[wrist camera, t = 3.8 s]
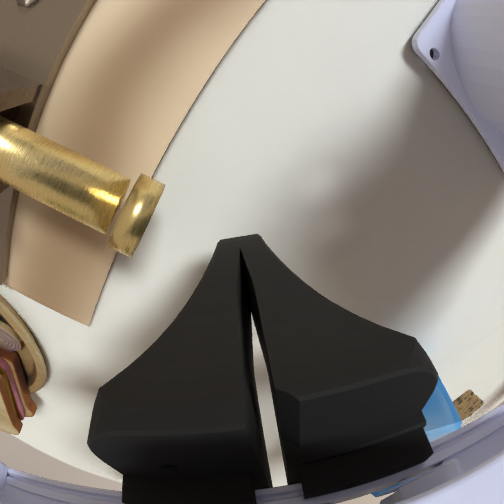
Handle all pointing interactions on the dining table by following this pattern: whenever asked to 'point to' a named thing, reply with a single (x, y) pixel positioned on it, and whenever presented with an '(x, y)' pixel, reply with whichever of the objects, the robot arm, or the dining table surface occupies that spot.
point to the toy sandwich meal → (17, 370)
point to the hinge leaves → (31, 75)
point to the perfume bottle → (434, 423)
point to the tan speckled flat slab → (467, 404)
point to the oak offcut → (116, 127)
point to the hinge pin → (77, 185)
